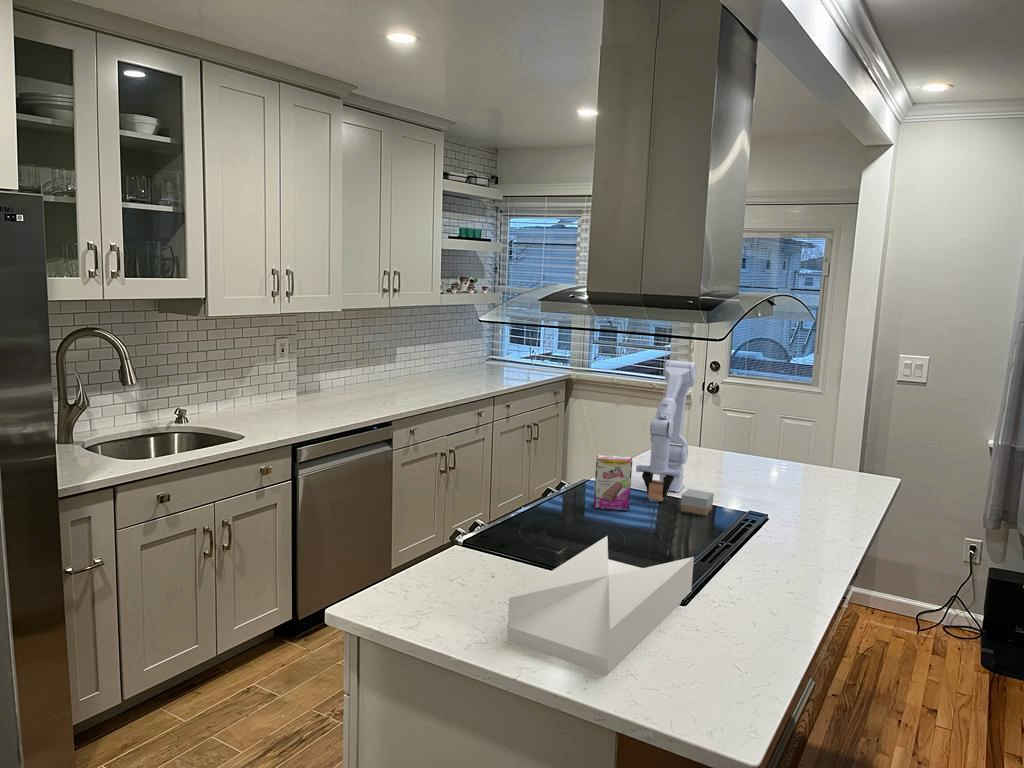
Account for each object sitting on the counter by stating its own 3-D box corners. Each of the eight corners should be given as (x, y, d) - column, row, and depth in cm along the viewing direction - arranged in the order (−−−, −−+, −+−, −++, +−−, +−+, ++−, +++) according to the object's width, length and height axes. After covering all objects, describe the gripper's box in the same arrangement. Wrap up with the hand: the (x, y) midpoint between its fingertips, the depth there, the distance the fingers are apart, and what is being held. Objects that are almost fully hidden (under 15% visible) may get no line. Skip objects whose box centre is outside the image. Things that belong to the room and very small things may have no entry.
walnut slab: (686, 506, 248) (687, 497, 248) (711, 511, 245) (712, 502, 244) (680, 513, 241) (680, 504, 241) (706, 518, 237) (706, 508, 237)
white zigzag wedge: (605, 572, 193) (607, 535, 191) (690, 595, 181) (693, 556, 180) (507, 642, 155) (508, 597, 154) (607, 677, 144) (610, 629, 142)
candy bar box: (593, 509, 240) (596, 458, 238) (593, 504, 245) (595, 454, 243) (629, 511, 239) (632, 460, 237) (628, 507, 244) (632, 456, 242)
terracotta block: (651, 497, 255) (653, 479, 254) (665, 499, 253) (666, 482, 252) (647, 501, 251) (649, 483, 250) (661, 503, 249) (662, 485, 248)
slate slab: (688, 497, 248) (688, 488, 247) (713, 502, 244) (713, 493, 243) (680, 504, 241) (681, 494, 240) (706, 508, 237) (707, 499, 236)
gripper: (634, 454, 249) (631, 495, 252) (678, 461, 243) (675, 503, 245) (640, 450, 256) (638, 490, 258) (684, 456, 249) (681, 497, 252)
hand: (656, 496), depth 252 cm, fingers closed on terracotta block, 4 cm apart
